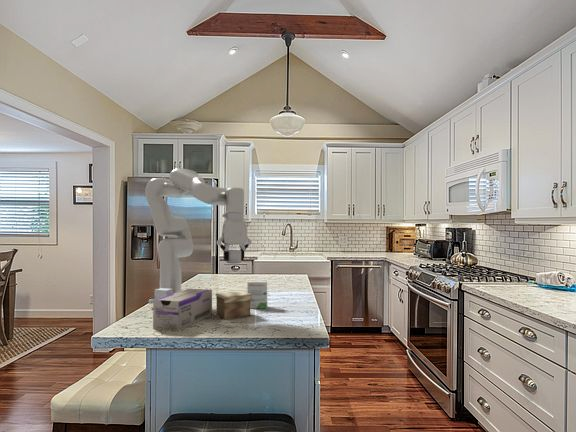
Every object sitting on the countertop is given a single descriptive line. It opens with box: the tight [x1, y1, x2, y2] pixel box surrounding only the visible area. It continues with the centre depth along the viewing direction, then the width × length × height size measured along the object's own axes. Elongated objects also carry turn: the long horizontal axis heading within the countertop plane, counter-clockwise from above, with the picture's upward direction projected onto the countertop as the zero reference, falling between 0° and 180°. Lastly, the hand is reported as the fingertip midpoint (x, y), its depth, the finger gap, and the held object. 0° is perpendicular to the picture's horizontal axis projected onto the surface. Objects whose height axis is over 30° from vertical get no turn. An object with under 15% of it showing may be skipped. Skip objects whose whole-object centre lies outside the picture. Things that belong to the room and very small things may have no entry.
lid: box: [215, 290, 252, 303], centre depth 159 cm, size 12×11×2 cm
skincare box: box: [154, 287, 173, 299], centre depth 153 cm, size 6×4×12 cm
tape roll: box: [226, 249, 242, 265], centre depth 159 cm, size 6×6×5 cm
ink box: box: [246, 280, 268, 309], centre depth 175 cm, size 9×5×12 cm, turn 83°
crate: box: [216, 296, 251, 321], centre depth 159 cm, size 11×10×8 cm
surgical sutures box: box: [152, 288, 213, 332], centre depth 149 cm, size 25×11×11 cm, turn 164°
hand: (233, 260), depth 159 cm, fingers closed on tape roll, 6 cm apart
